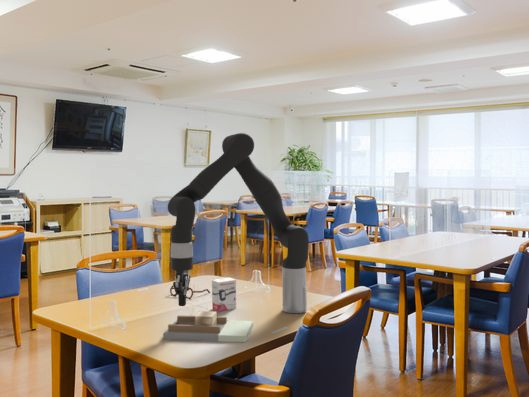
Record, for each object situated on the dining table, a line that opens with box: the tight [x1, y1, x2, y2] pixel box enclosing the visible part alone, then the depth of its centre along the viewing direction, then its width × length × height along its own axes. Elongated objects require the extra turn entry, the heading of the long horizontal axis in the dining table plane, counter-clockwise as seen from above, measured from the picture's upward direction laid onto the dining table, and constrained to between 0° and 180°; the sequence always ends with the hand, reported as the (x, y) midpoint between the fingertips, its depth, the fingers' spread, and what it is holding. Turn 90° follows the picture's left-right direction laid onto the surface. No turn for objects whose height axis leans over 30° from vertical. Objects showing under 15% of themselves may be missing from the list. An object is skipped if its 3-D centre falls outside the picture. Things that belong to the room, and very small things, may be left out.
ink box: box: [211, 277, 237, 312], centre depth 205 cm, size 8×5×12 cm, turn 123°
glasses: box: [169, 285, 211, 299], centre depth 229 cm, size 13×13×5 cm
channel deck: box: [162, 314, 254, 343], centre depth 175 cm, size 28×16×4 cm, turn 83°
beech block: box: [194, 310, 218, 326], centre depth 175 cm, size 6×6×4 cm
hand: (182, 305), depth 176 cm, fingers closed
